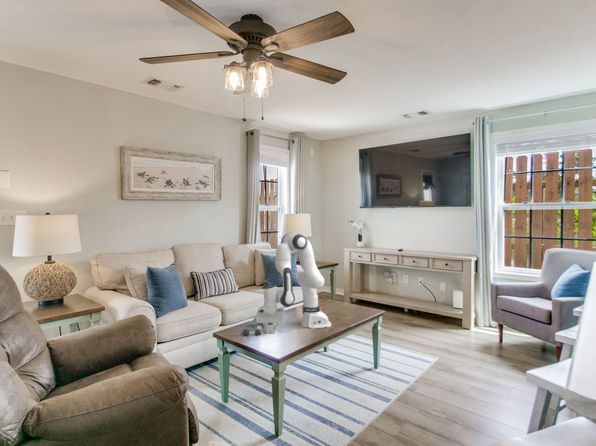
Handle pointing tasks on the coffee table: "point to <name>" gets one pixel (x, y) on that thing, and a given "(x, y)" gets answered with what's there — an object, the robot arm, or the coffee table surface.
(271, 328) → the cube with round knob
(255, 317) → the toy figure
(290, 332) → the coffee table surface
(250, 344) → the coffee table surface
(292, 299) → the robot arm
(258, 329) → the chassis
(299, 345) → the coffee table surface
